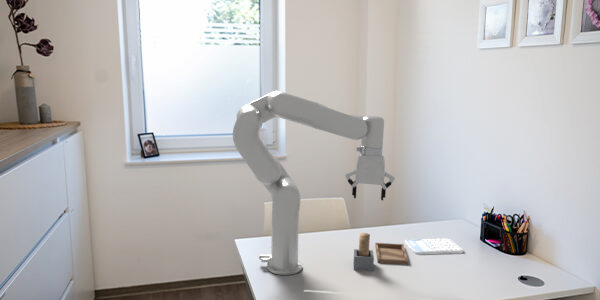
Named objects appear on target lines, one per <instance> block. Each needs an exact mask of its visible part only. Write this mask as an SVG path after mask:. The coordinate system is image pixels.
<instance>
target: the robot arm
mask: <svg viewBox="0 0 600 300" xmlns="http://www.w3.org/2000/svg"><path fill="white" fill-rule="evenodd" d="M276 117H277V118H279V119H282V120H286V121H290V122H293V123H297V124H300V125H302V126H303V125H304V126H306V127H309V128H312V129H315V130H319V131H324V132H327V133H330V134H333V135H337V136H340V137H342V138H347V139H350V140H352V141H353V140H354V141H359V140H360V141H361V142H360V146H359V147H358V146H357V147H356V152H359V154H358V155H357V159H356V163H355V164H356V165H355V169H354V170H351V171H349V172H347V173H345V178H346V180H347V182H348V184H350V186H351V189H352V190H351V192H352V193H351V195H352V196H353V198H354V199H356V198H357V187H358V186H357V185H359V184H363V185H373V186H375V185H377V186H379V185H380V186H381V190H380V191H381V192H380V200H381V201H384V198H386V191H387V189H388V188H390V186H391V185H392V184H393V183H394V181H395V176H393V175H391V174H389V173H388V172H386V167H385V166H386V164H385V163H386V160H385V157H384V155H383V145H384V131H385V119H384V118H383V117H381V116H375V115H368V116H367V115H366V116H362V115H354V114H347V113H344V112H341V111H338V110H335V109H333V108H330V107H328V106H326V105H324V104H321V103H319V102H316V101H313V100H309V99H306V98H303V97H300V96H296V95H293V94H291V93H287V92H284V91H281V90H274V91H271V92H270V93H267V94H266V95H263V96H262V97H260V98H258V99H256V100H253V101H251V102H249V103H247V104H245V105H244V106H242V107H240V108H239V109H238V111H237V114H236V120H235V122H234V125H233V129H232V141H233V143H234V146H235V149H236V150H237V152H238V153H239V155H240V156H241V158H242V159H243V160H244V162H245V163H246V165H247V166H248V168H250V170H251V172H252V173H253V174H254V177H255V178H256V180H258V181H259V182H260V183H261V184H263V186H264V187H265V188H266V190H267V191H268V192H269V194H270V196H271V201H272V203H271V205H272V207H271V247H270V248H271V253H269V254H263V253H262V254H259V257H258V259H259V260H260V261H261V263H266V269H267V271H269V272H270V273H272V274H275V275H281V276H288V275H289V276H290V275H294V274H297V273H299V272H300V271H302V269H303V263H302V262H301V261H299V233H300V232H299V231H300V230H299V229H300V226H299V225H300V207H301V194H300V193H301V192H300V190H299V188H298V186H297V185H296V183H295V182H294V180H293V178H292V177H291V176H290V175H289V173H288V172H287V170H286V169H285V168H284V166H283V165H282V163H281V162H280V161H279V159H278V158H277V157H276V156H275V155H274V154H273V153H271V152H270V151H269V149H267V147H266V145H265V144H264V142H263V141H262V140H261V138H260V135H259V132H260V130H261V127H262V125H263V124H264V123H267V122H269V121H271V120H272V119H274V118H276ZM352 176H355V178H354V179H355V180H353V179H352V178H351V177H352ZM385 177H386V178H387V179H388V181H387V182H386V183H385Z"/></svg>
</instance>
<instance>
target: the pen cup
mask: <svg viewBox="0 0 600 300" xmlns="http://www.w3.org/2000/svg"><path fill="white" fill-rule="evenodd" d="M374 261H375V256H374V250H372V249H369V257H366V256H359V248H358V249H356V248H355V249H353V271H366V272H374V265H375V264H374Z"/></svg>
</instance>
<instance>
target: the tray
mask: <svg viewBox="0 0 600 300" xmlns="http://www.w3.org/2000/svg"><path fill="white" fill-rule="evenodd" d="M374 243H375V244H374V247H375V253H376V259H377V263H379V264H389V265H390V264H391V265H394V264H395V265H407V266H408V265H409V258H408V255H407V251H406V248H405V245H404V244H403V243H388V242H387V243H386V242H385V243H384V242H374Z"/></svg>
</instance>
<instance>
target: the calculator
mask: <svg viewBox="0 0 600 300" xmlns="http://www.w3.org/2000/svg"><path fill="white" fill-rule="evenodd" d="M404 243H405V245H406V246H407V247H408V248H409V249H411V250H412V252H413V253H414V254H415V255H443V254H444V255H445V254H446V255H447V254H448V255H450V254H462V253H464V249H463V248H462V247H461V246H459V245H458V244H457V243H456V242H455V241H453V240H452V239H450V238H443V237H442V238H415V239H410V238H408V239H405V240H404Z"/></svg>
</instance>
